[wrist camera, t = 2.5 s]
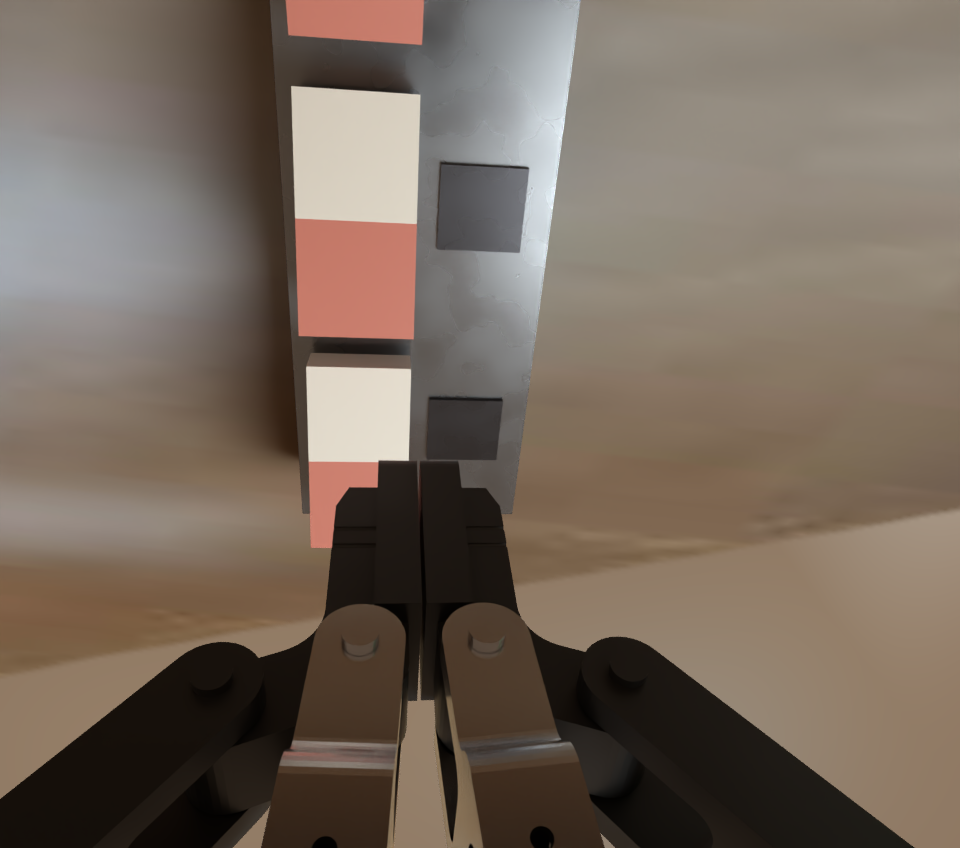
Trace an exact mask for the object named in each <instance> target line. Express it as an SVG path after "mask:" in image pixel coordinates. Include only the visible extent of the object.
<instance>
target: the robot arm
mask: <svg viewBox="0 0 960 848" xmlns="http://www.w3.org/2000/svg"><path fill="white" fill-rule="evenodd" d="M419 653H420V684H421V700H434V702H435V703H434V704H435V733H434V749H435V757H436V765H437V772H438V780H439V788H440V796H441V804H442V812H443V820H444V828H445V835H446V844H447V848H605V847H604V844H603V840H602V837H601V834H602V835H603V836H604V837H605V838H606V839H607V840H609V842H610V843H611V844H612V845H613V846H614V847H615V848H914V847H913V846H911V845H910V844H909V843H907V842H906V841H905V840H903V839H902V838H901V837H899V836H898V835H897V834H896V833H894V832H893V831H892V830H890V829H889V828H888V827H886V826H885V825H884V824H883V823H881V822H880V821H879V820H877V819H876V818H875V817H873V816H872V815H871V814H869V813H868V812H867V811H865V810H864V809H863V808H861V807H860V806H859V805H857V804H856V803H855V802H854V801H852V800H851V799H850V798H848V797H847V796H846V795H844V794H843V793H842V792H841V791H839V790H838V789H837V788H835V787H834V786H833V785H831V784H830V783H829V782H827V781H826V780H825V779H824V778H822V777H821V776H820V775H818V774H817V773H816V772H814V771H813V770H812V769H810V768H809V767H808V766H806V765H805V764H804V763H803V762H801V761H800V760H798V759H797V758H796V757H795V756H793V755H792V754H791V753H789V752H788V751H786V749H784V748H783V747H781V746H780V745H779V744H778V743H776V742H775V741H774V740H772V739H771V738H770V737H768V736H767V735H765V733H763V732H762V731H761V730H759V729H758V728H757V727H755V726H754V725H753V724H751V723H750V722H749V721H747V720H746V719H745V718H743V717H742V716H741V715H740V714H738V713H737V712H736V711H734V710H733V709H732V708H730V707H729V706H728V705H726V704H725V703H724V702H722V701H721V700H720V699H719V698H717V697H716V696H715V695H713V694H712V693H710V692H709V691H708V690H707V689H706V688H704V687H703V686H702V685H700V684H699V683H698V682H696V681H695V680H694V679H692V678H691V677H690V676H688V675H687V674H686V673H684V672H683V671H682V670H681V669H679V668H678V667H677V666H675V665H674V664H673V663H671V662H670V661H669V660H667V659H666V658H665V657H664V656H662V655H661V654H660V653H658V652H657V651H656V650H654V649H653V648H651V647H650V646H648V645H647V644H644V643H642V642H641V641H638V640H635V639H631V638H627V637H609V638H605V639H601V640H599V641H597V642H596V643H594V644H592V645H591V646H590V647H589V648H588V649H587V651H586V652H583V651H579V650H575V649H571V648H568V647H564V646H560V645H556V644H554V643H551V642H549V641H547V640H545V639H543V638H541V637H539V636H538V635H536V634H535V633H534V632H533V631H532V630H530V629H529V627H528V626H527V625H526V624H525V622H524V621H523V620H522V618H521V616H520V614H519V612H518V608H517V603H516V597H515V592H514V585H513V579H512V573H511V568H510V562H509V556H508V550H507V547H506V538H505V533H504V530H503V521H502V515H501V509H500V505H499V504H498V503H497V502H496V500H495V499H494V498H493V496H492V495H491V494H490V493H489V491H488V490H487V489H486V488H462V487H461V478H460V469H459V462H458V461H420V464H419V485H418V475H417V461H398V460H378V487H349V488H348V490H347V491H346V493H345V494H344V495H343V497H342V498H341V499H340V501H339V502H338V504H337V505H336V510H335V520H334V531H333V540H332V550H331V560H330V570H329V580H328V590H327V600H326V609H325V614H324V617H323V620H322V622H321V623H320V625H319V627H318V628H317V629H316V631H315V632H314V633H313V634H312V635H311V636H310V637H308V638H307V639H306V640H305V641H303V642H301V643H300V644H298V645H296V646H294V647H292V648H290V649H287V650H284V651H281V652H278V653H275V654H271V655H268V656H264V657H261V658H258V657H257V656H256V654H255V653H253V652H252V651H251V650H250V649H248V648H246V647H244V646H242V645H239V644H236V643H229V642H216V643H210V644H205V645H202V646H199V647H196V648H194V649H192V650H190V651H188V652H187V653H185V654H184V655H182V656H181V657H179V658H178V659H177V660H176V661H174V662H173V663H172V664H170V665H169V666H168V667H167V668H166V669H164V670H163V671H162V672H160V673H159V674H158V675H157V676H155V677H154V678H153V679H152V680H150V681H149V682H148V683H147V684H145V685H144V686H143V687H142V688H140V689H139V690H138V691H136V692H135V693H134V694H132V695H131V696H130V697H129V698H127V699H126V700H125V701H124V702H123V703H121V704H120V705H119V706H117V707H116V708H115V709H114V710H112V711H111V712H110V713H109V714H107V715H106V716H105V717H103V718H102V719H101V720H100V721H98V722H97V723H96V724H95V725H93V726H92V727H91V728H90V729H88V730H87V731H86V732H84V733H83V734H82V735H81V736H79V737H78V738H77V739H76V740H74V741H73V742H72V743H70V744H69V745H68V746H67V747H65V748H64V749H63V750H62V751H60V752H59V753H58V754H57V755H55V756H54V757H53V758H51V759H50V760H49V761H48V762H46V763H45V764H44V765H43V766H42V767H40V768H39V769H38V770H36V771H35V772H34V773H33V774H31V775H30V776H29V777H27V778H26V779H25V780H24V781H22V782H21V783H20V784H19V785H17V786H16V787H15V788H14V789H12V790H11V791H10V792H9V793H7V794H6V795H5V796H3V797H2V798H1V799H0V848H233V847H234V846H235V845H236V844H237V842H238V841H239V840H240V839H241V838H242V837H243V836H244V835H245V834H246V833H247V832H248V831H249V829H251V827H252V826H253V825H254V824H255V823H256V822H257V821H258V820H259V819H260V818H261V817H262V815H263V814H264V813H265V812H266V810H267V809H268V808H269V806H270V809H269V814H268V818H267V823H266V827H265V832H264V837H263V841H262V846H261V848H394V840H395V827H396V814H397V800H398V788H399V775H400V762H401V749H402V741H403V738H404V736H405V733H406V725H407V703H408V701H417V690H418V672H419V671H418V670H419ZM600 833H601V834H600Z"/></svg>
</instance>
